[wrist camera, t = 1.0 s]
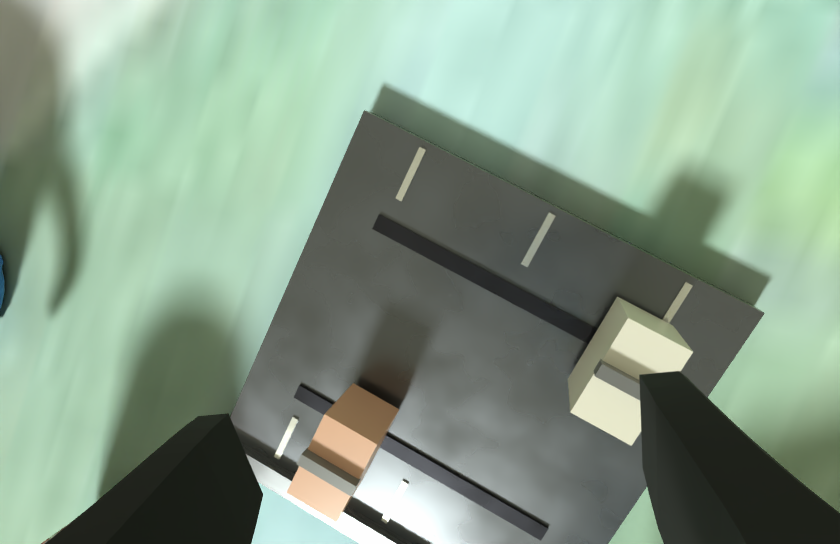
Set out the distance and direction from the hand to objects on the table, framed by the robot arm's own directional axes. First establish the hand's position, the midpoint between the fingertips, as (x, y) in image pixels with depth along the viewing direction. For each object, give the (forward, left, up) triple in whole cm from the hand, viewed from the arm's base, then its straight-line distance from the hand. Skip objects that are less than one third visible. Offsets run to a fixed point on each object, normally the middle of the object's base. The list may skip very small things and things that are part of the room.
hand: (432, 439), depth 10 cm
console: (0, +5, -16) cm, 17 cm away
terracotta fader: (+3, +9, -15) cm, 18 cm away
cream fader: (-5, 0, -15) cm, 16 cm away
